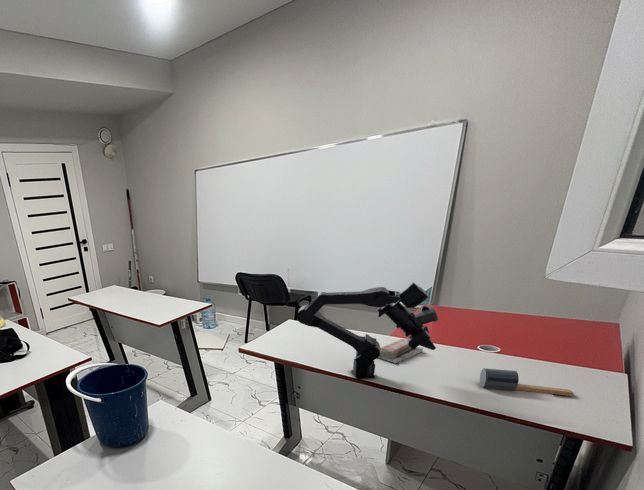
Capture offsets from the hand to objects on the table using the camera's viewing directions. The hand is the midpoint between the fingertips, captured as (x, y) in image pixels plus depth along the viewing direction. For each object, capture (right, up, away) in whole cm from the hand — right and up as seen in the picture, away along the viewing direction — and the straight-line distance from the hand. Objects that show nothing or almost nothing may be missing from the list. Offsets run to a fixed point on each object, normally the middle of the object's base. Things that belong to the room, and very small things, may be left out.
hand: (434, 349), depth 121 cm
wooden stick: (+16, -12, -4) cm, 21 cm away
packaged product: (+4, -2, +27) cm, 27 cm away
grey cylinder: (+14, -10, -3) cm, 17 cm away
